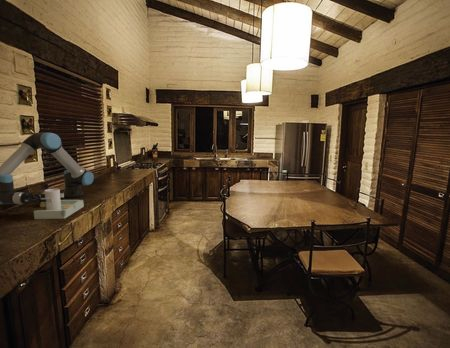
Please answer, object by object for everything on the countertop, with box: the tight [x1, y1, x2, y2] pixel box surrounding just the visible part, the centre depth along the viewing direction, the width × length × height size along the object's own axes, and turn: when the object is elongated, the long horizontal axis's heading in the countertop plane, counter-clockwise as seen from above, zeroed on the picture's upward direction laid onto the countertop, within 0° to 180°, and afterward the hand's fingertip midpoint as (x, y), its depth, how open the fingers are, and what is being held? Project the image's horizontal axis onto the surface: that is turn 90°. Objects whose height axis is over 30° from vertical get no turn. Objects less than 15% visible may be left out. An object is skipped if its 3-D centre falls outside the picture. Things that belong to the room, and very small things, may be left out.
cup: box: [44, 188, 62, 210], centre depth 170 cm, size 8×8×16 cm
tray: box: [33, 199, 85, 220], centre depth 177 cm, size 18×28×6 cm, turn 6°
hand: (58, 197), depth 170 cm, fingers open, 13 cm apart
